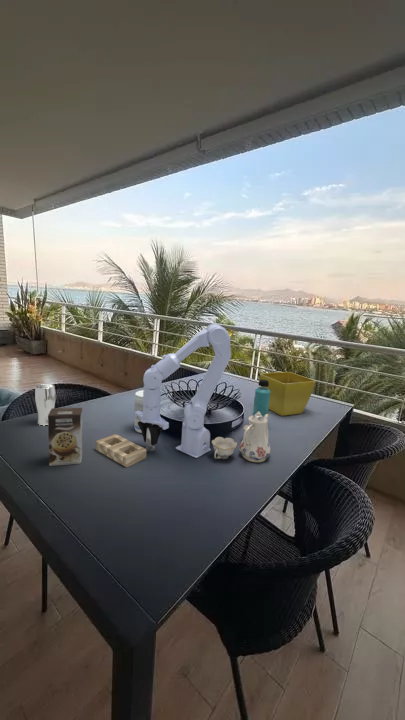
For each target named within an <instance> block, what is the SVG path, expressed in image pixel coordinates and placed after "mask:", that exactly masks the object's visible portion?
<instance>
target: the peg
mask: <svg viewBox="0 0 405 720" xmlns="http://www.w3.org/2000/svg"><path fill="white" fill-rule="evenodd" d="M150 426H152V425H150ZM148 427H149V426H147V429H146V442H145V449H147V450H146V452H153V451H155V450H156V444H155V445H151V435H150V431H149V428H148Z"/></svg>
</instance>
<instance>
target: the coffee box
mask: <svg viewBox="0 0 405 720" xmlns="http://www.w3.org/2000/svg"><path fill="white" fill-rule="evenodd" d="M47 427H48V466H50V467H52V466H53V467H54V466H65V465H78V464H81V463H82V457H83V407H61V408H59V407H58V408H57V407H56V408H55V407H54V408H52V409H51V411H50V412H49V415H48V426H47Z"/></svg>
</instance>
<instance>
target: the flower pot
mask: <svg viewBox="0 0 405 720" xmlns="http://www.w3.org/2000/svg"><path fill="white" fill-rule="evenodd" d="M259 380H267V381H269V386H268V387H266V388H268V389H269V390H270V400H269V409H268V410H270V411H272V412H274V413H276V414H277V415H279V416H281V417H283V416H284V417H285V416H289V415H290V416H291V415H298V414H303V412H304V410H305V408H306V407H307V405H308V403H309V400H310V399H311V396H312V394H313V391H314V388H315V385H316V380H314V379H311V378H308V377H306V376H303V375H301V374H297V373H294V372H291V371H282V372H280V371H279V372H262V373H259ZM260 387H263V386H260Z"/></svg>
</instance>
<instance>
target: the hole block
mask: <svg viewBox="0 0 405 720" xmlns="http://www.w3.org/2000/svg"><path fill="white" fill-rule="evenodd" d="M95 450H96V451H97V452H99V453H100V454H103V455H104V456H106V457H107V458H110V459H111V460H113V461H114V462H117V463H118V464H119V465H121V466H123V467H125V468H128V467H130V466H133V465H135V464H136V463H139V462H140V461H142V460H145V459H147V449H146V447H145V448H144V447H142V446H141V445H139V444H137V443H134V442H132V441H130V440H128V439H127V438H124V437H122V436H121V435H119V434H117V433H116V434H112V435H109V436H107V437H103V438H101V439H98V440H95Z"/></svg>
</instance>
